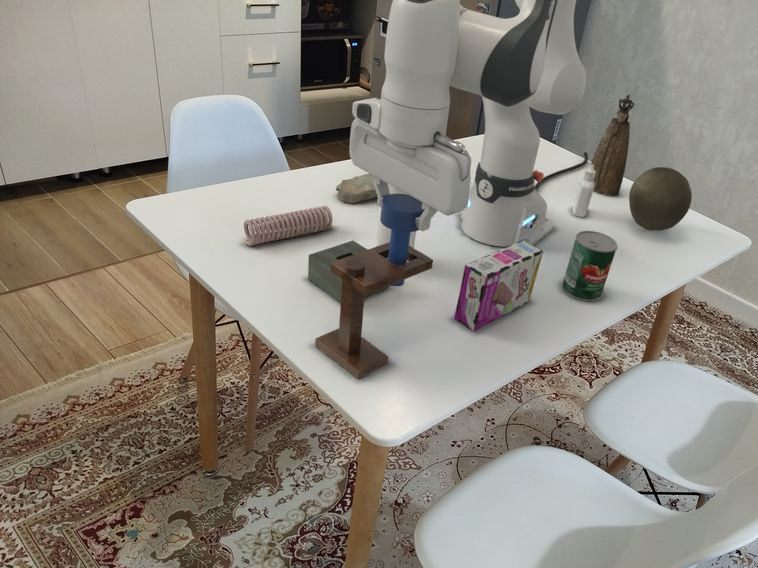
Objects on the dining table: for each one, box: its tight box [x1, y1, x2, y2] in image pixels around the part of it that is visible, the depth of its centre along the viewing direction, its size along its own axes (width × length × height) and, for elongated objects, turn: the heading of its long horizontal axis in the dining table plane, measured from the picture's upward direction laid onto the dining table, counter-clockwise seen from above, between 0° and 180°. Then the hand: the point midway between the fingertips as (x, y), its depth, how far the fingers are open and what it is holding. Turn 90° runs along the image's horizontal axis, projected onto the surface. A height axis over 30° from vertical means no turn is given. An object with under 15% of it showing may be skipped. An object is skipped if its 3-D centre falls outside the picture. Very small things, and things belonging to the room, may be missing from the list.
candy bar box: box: [454, 240, 544, 332], centre depth 114 cm, size 11×5×16 cm
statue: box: [589, 94, 635, 197], centre depth 166 cm, size 9×8×25 cm
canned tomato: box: [561, 230, 618, 302], centre depth 125 cm, size 8×8×11 cm
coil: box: [243, 205, 334, 247], centre depth 126 cm, size 5×5×18 cm
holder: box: [307, 240, 389, 303], centre depth 115 cm, size 10×10×5 cm
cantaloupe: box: [628, 166, 693, 232], centre depth 152 cm, size 14×14×15 cm
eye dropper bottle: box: [572, 164, 596, 218], centre depth 155 cm, size 4×6×12 cm
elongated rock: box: [335, 173, 378, 204], centre depth 153 cm, size 35×5×10 cm
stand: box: [314, 242, 434, 380], centre depth 99 cm, size 15×10×16 cm
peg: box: [380, 194, 425, 288], centre depth 96 cm, size 6×6×13 cm
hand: (402, 217), depth 94 cm, fingers closed on peg, 6 cm apart
